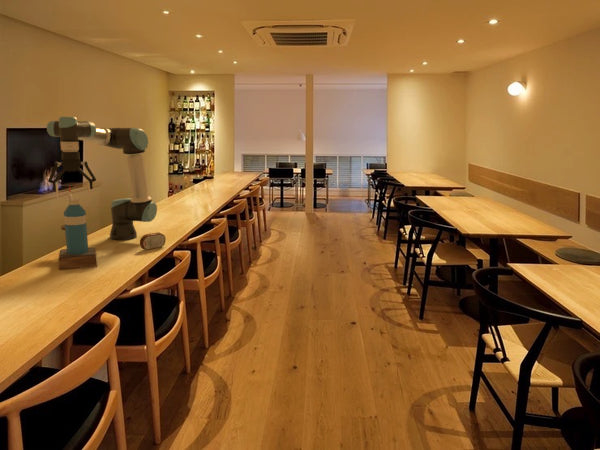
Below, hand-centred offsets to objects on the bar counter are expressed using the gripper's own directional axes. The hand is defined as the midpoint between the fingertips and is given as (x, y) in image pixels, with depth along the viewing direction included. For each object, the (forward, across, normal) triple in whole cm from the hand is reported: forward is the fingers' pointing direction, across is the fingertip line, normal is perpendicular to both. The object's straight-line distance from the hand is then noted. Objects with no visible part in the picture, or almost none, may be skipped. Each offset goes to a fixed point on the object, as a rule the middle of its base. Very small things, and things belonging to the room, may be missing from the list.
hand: (73, 196), depth 228 cm
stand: (+32, 0, 0) cm, 33 cm away
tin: (+33, +37, +18) cm, 53 cm away
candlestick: (+33, -2, +22) cm, 39 cm away
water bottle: (+27, 0, 0) cm, 27 cm away
